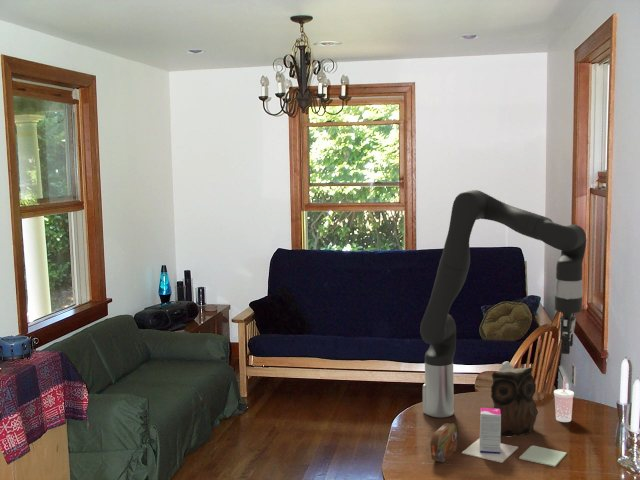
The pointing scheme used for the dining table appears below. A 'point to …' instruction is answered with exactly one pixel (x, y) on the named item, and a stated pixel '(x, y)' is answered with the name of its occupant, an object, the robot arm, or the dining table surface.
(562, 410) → the beverage cup
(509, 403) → the owl
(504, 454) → the tile
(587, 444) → the dining table surface
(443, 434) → the tin
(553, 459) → the sage mat
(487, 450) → the supplement box
